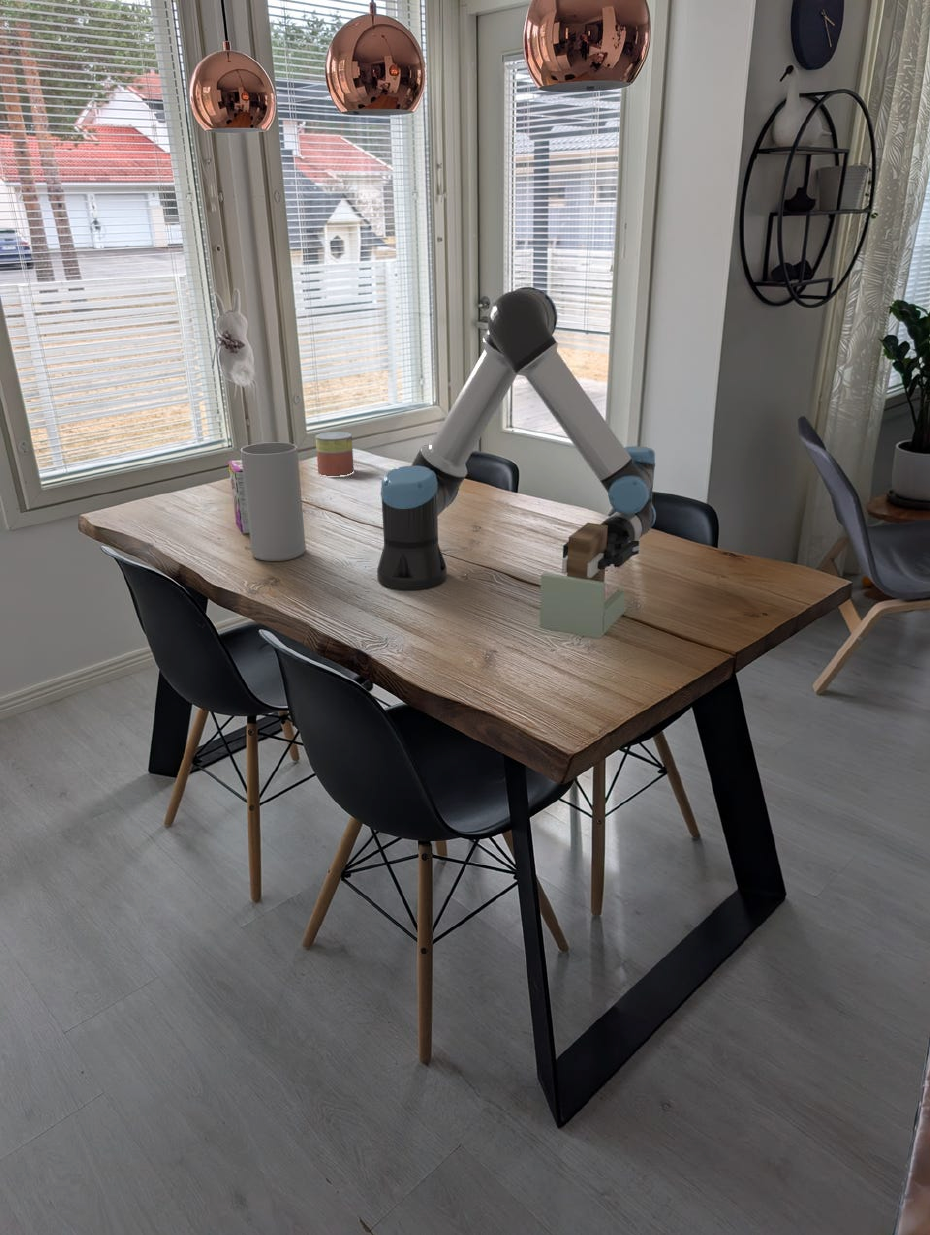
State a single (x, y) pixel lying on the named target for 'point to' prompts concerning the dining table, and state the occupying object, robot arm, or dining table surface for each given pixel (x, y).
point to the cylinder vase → (273, 500)
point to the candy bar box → (239, 495)
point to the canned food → (334, 453)
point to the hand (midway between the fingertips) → (576, 568)
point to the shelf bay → (578, 605)
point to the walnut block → (586, 550)
